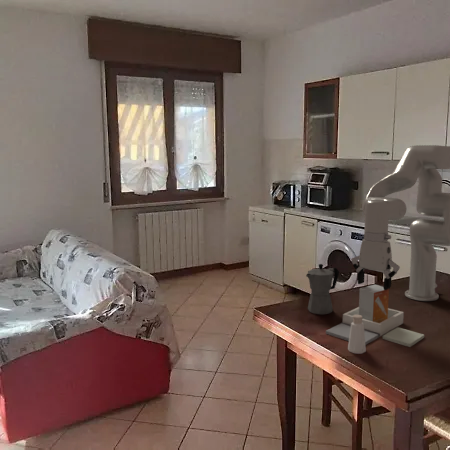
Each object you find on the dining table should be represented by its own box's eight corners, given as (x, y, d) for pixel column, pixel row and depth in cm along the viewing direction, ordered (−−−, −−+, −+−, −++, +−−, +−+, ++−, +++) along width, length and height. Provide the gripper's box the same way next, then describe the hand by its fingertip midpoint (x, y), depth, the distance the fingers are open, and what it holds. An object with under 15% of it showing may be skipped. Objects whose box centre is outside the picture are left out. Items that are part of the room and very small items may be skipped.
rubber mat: (397, 330, 159) (397, 327, 159) (424, 337, 152) (424, 334, 152) (382, 338, 152) (382, 335, 152) (409, 347, 146) (409, 344, 145)
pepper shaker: (349, 345, 148) (350, 311, 146) (367, 348, 145) (368, 314, 144) (345, 352, 143) (346, 317, 141) (364, 355, 141) (365, 320, 139)
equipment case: (366, 313, 175) (367, 302, 174) (403, 323, 165) (403, 312, 164) (325, 333, 157) (325, 322, 156) (363, 346, 147) (364, 333, 146)
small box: (372, 329, 159) (373, 292, 157) (357, 324, 165) (358, 288, 162) (388, 324, 164) (389, 288, 162) (373, 319, 169) (374, 283, 167)
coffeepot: (314, 317, 172) (315, 269, 168) (298, 309, 180) (298, 263, 177) (346, 309, 179) (347, 263, 176) (329, 302, 187) (330, 258, 184)
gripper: (405, 238, 155) (403, 289, 158) (358, 232, 168) (357, 279, 170) (394, 241, 150) (392, 293, 153) (347, 235, 162) (345, 283, 165)
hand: (373, 286), depth 161 cm, fingers open, 9 cm apart
